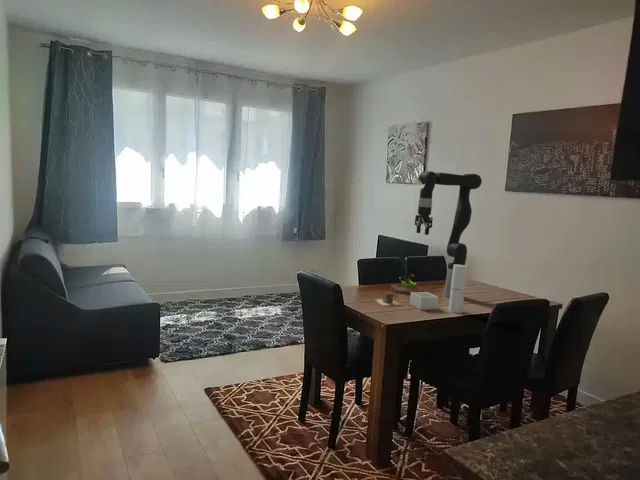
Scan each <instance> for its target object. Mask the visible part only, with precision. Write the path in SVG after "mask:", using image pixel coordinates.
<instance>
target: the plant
mask: <svg viewBox="0 0 640 480" xmlns="http://www.w3.org/2000/svg"><path fill="white" fill-rule="evenodd" d="M408 275H409V276H408V277H405V276H399V277H398V278H399V280H401V279H402V278H404V280H401V283H397V284H391V286H390V290H393V291H394V292H395V293H396V294H400V295H409V296H410V294H411V292H425V288H423V287H420V286H418V285H416V284H417V282H414V281H412V279H411V278H410V277H412V278H414V277H415V275H414V274H413V273H410V274H408Z"/></svg>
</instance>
